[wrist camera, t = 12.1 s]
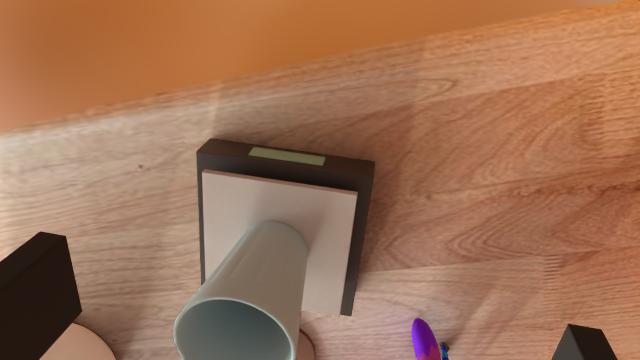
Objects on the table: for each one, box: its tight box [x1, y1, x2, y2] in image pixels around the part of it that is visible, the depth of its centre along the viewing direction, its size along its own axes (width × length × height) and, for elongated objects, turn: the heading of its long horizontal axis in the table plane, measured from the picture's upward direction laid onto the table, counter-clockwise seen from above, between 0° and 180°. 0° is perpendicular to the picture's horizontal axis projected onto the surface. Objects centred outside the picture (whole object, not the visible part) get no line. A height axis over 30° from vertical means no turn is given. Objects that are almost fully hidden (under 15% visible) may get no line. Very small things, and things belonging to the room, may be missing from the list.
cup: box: [173, 221, 307, 360], centre depth 32 cm, size 8×8×10 cm
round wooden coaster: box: [296, 329, 315, 360], centre depth 46 cm, size 8×8×2 cm
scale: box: [196, 138, 375, 317], centre depth 38 cm, size 14×14×4 cm
